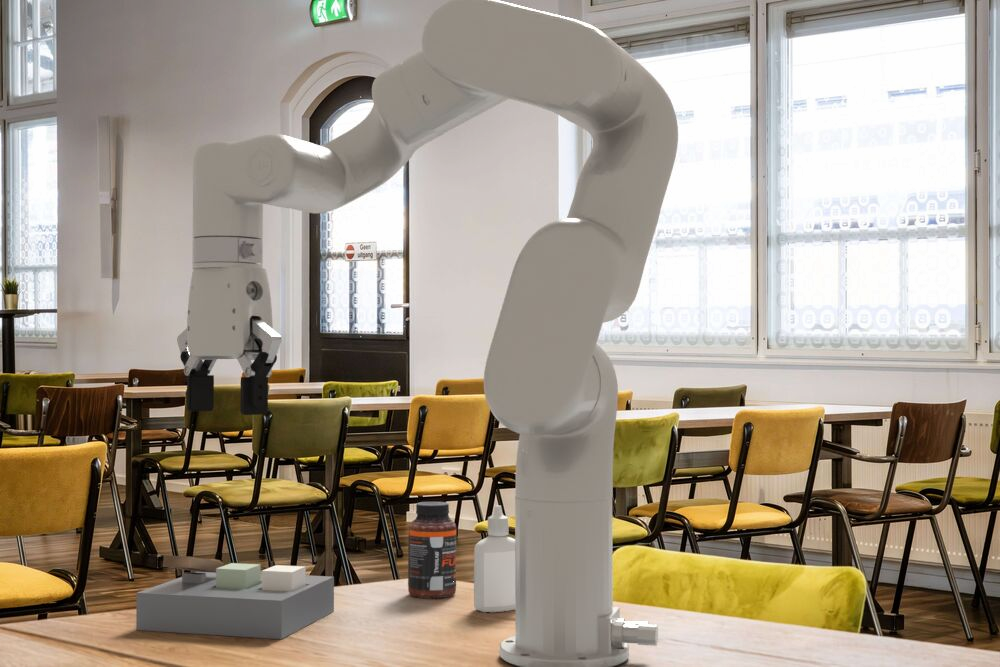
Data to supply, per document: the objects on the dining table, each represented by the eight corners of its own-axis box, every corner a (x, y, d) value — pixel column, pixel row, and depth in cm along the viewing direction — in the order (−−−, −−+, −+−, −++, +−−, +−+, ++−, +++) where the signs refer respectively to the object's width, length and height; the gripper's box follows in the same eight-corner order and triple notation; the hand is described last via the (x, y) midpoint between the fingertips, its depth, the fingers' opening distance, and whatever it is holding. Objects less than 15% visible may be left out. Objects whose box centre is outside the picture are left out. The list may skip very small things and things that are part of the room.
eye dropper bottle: (522, 613, 139) (522, 508, 139) (473, 613, 139) (473, 508, 139) (522, 605, 144) (521, 503, 144) (474, 605, 144) (474, 503, 144)
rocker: (222, 572, 140) (224, 560, 141) (188, 567, 133) (190, 554, 133) (197, 571, 141) (199, 559, 141) (162, 566, 134) (164, 553, 134)
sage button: (260, 592, 137) (260, 564, 137) (245, 599, 133) (245, 570, 133) (231, 591, 138) (231, 563, 138) (216, 597, 134) (216, 568, 134)
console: (333, 611, 140) (333, 567, 140) (281, 639, 127) (281, 591, 127) (200, 604, 145) (200, 561, 145) (136, 630, 131) (136, 583, 131)
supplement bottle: (449, 600, 146) (449, 506, 146) (402, 599, 147) (402, 505, 148) (461, 591, 152) (461, 500, 152) (415, 589, 153) (415, 499, 153)
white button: (305, 595, 135) (305, 566, 136) (292, 601, 132) (292, 572, 132) (276, 593, 136) (276, 565, 136) (261, 600, 133) (261, 570, 133)
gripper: (305, 254, 130) (304, 414, 130) (209, 261, 142) (208, 408, 142) (248, 250, 125) (247, 417, 125) (153, 258, 136) (152, 411, 136)
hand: (226, 412), depth 133 cm, fingers open, 9 cm apart
